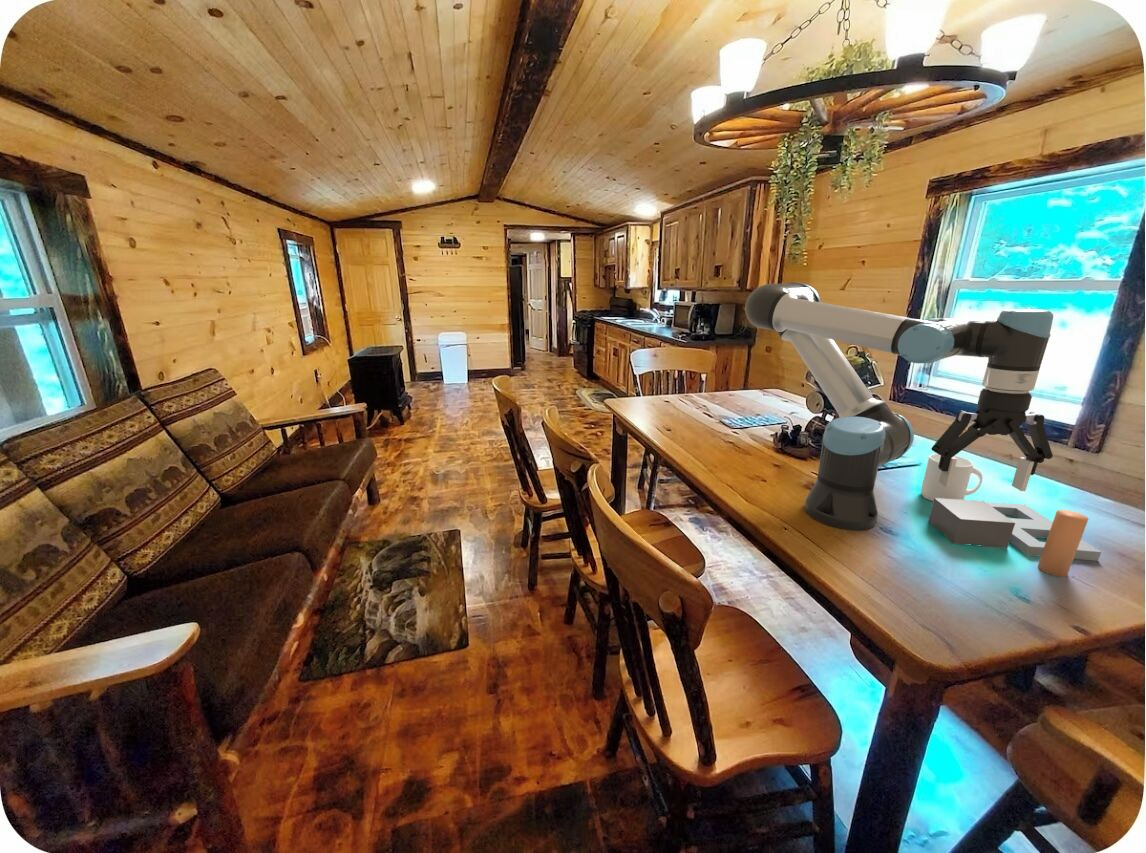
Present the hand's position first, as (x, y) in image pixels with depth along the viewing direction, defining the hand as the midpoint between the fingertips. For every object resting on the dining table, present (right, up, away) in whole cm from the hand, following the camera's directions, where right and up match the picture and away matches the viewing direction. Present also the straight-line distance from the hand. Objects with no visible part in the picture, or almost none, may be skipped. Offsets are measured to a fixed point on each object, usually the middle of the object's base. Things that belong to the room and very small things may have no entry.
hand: (980, 486), depth 94 cm
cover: (0, -11, +4) cm, 12 cm away
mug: (+10, -6, +19) cm, 23 cm away
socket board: (+13, -11, +4) cm, 18 cm away
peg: (+5, -15, -9) cm, 18 cm away
